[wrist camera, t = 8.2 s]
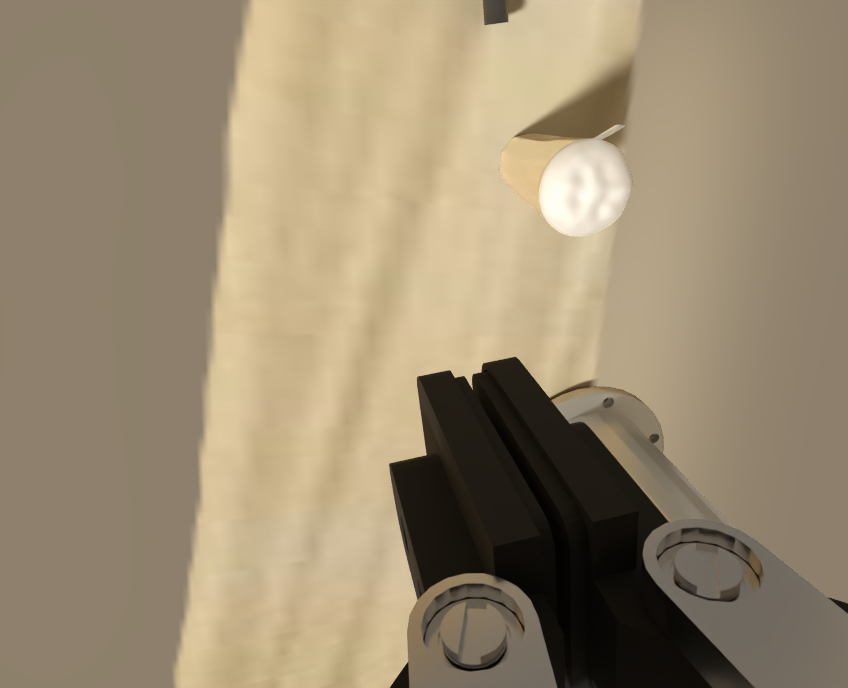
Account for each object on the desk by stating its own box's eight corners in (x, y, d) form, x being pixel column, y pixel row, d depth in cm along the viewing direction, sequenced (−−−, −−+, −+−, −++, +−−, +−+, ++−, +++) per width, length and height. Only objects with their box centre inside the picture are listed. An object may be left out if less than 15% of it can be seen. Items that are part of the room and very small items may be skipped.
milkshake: (571, 110, 36) (669, 129, 27) (552, 204, 38) (637, 250, 29) (496, 101, 34) (572, 119, 26) (482, 198, 37) (548, 245, 28)
